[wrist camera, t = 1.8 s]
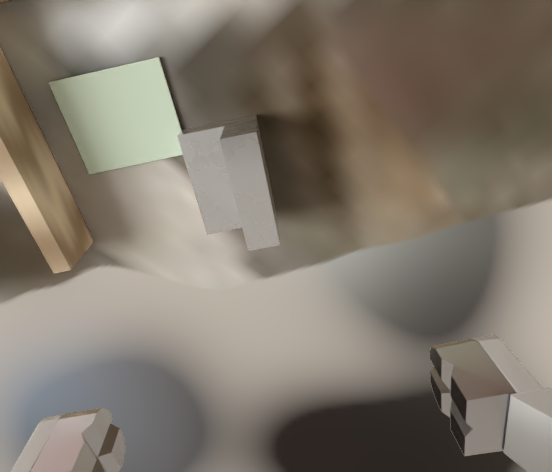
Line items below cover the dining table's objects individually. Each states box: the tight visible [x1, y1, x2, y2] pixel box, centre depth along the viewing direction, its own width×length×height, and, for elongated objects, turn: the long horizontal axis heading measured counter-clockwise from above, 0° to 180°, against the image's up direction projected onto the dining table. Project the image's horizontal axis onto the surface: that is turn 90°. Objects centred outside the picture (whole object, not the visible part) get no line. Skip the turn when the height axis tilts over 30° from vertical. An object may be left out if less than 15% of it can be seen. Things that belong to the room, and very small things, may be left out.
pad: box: [48, 57, 183, 175], centre depth 25 cm, size 6×7×1 cm
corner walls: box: [0, 0, 94, 273], centre depth 23 cm, size 17×16×4 cm
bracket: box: [177, 115, 280, 251], centre depth 24 cm, size 7×5×6 cm
